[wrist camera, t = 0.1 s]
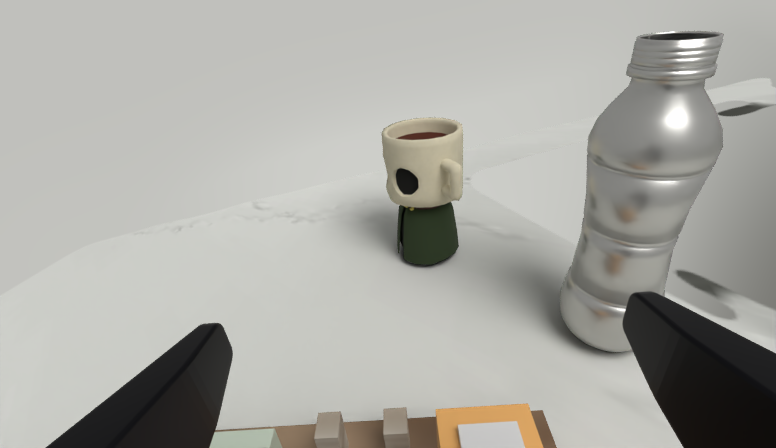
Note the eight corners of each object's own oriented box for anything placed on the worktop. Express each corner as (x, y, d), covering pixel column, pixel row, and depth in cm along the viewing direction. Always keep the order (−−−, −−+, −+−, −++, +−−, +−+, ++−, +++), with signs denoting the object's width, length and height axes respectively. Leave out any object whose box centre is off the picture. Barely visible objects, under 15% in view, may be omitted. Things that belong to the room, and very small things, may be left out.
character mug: (374, 239, 43) (359, 123, 36) (428, 220, 45) (423, 109, 39) (427, 293, 34) (419, 154, 28) (489, 265, 37) (496, 133, 30)
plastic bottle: (549, 348, 28) (601, 48, 18) (560, 291, 33) (605, 31, 23) (655, 378, 25) (789, 41, 15) (649, 310, 30) (746, 24, 20)
